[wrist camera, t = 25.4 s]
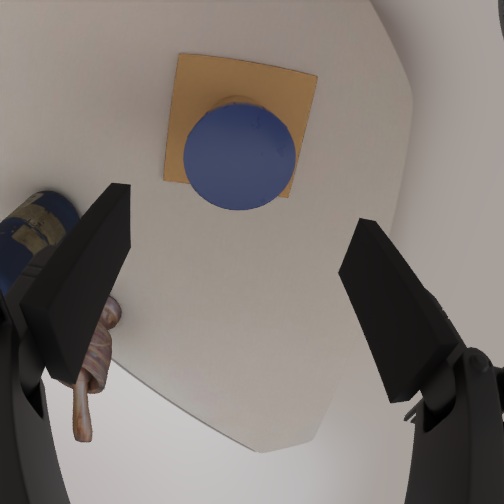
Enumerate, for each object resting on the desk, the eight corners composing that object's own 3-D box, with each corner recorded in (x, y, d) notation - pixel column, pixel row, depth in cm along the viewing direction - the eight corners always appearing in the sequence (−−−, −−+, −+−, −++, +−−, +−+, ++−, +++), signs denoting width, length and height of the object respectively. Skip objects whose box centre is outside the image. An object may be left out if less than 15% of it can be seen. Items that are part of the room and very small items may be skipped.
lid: (301, 112, 20) (307, 116, 18) (278, 206, 24) (282, 217, 22) (194, 94, 19) (191, 97, 17) (182, 192, 23) (178, 203, 21)
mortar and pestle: (146, 333, 47) (123, 448, 30) (106, 343, 48) (77, 446, 31) (105, 280, 40) (56, 402, 24) (65, 294, 42) (15, 402, 25)
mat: (316, 76, 28) (318, 76, 27) (287, 196, 35) (288, 198, 35) (180, 53, 26) (179, 53, 25) (164, 178, 33) (163, 180, 33)
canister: (78, 260, 38) (23, 362, 23) (25, 235, 35) (-44, 322, 20) (92, 202, 34) (18, 301, 19) (32, 176, 31) (-58, 255, 16)
